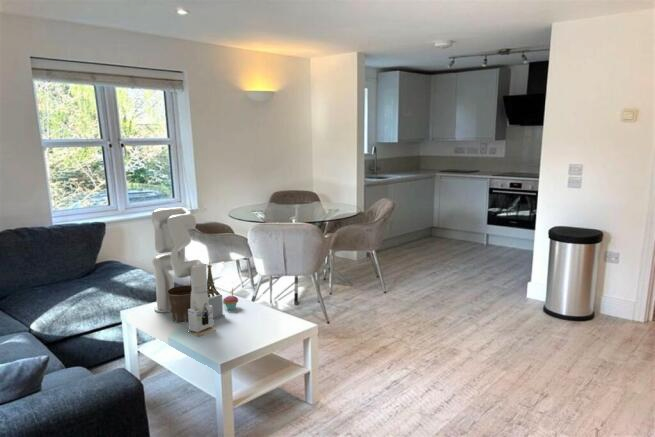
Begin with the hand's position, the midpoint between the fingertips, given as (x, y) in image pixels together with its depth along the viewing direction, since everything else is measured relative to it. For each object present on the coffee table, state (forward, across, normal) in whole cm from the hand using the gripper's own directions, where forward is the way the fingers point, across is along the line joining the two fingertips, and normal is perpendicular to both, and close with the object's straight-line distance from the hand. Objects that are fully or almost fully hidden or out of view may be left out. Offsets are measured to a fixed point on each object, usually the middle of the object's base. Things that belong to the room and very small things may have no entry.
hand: (201, 322), depth 228 cm
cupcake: (+5, -15, +29) cm, 33 cm away
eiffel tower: (+5, -38, +31) cm, 49 cm away
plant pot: (+5, -21, +3) cm, 22 cm away
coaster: (+5, 0, 0) cm, 5 cm away
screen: (+5, -9, +12) cm, 16 cm away
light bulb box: (+3, 0, 0) cm, 3 cm away
